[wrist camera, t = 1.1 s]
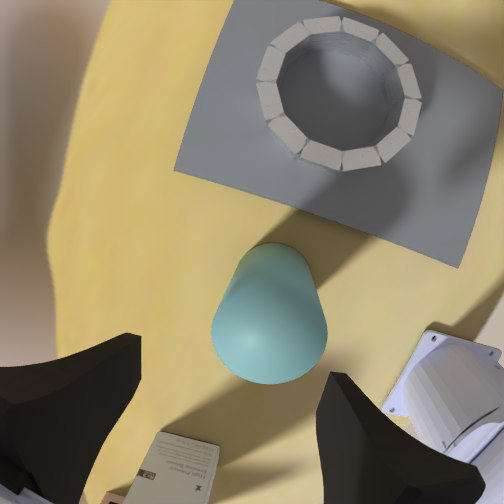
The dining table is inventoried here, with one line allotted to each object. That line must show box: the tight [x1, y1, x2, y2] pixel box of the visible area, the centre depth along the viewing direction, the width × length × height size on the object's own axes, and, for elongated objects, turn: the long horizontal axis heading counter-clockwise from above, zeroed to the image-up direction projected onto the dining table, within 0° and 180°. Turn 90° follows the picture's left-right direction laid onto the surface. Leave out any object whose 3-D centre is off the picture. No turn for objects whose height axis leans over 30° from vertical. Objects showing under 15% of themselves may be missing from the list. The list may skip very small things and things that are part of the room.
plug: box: [211, 243, 328, 384], centre depth 17 cm, size 5×5×8 cm
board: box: [173, 0, 503, 268], centre depth 18 cm, size 20×14×1 cm
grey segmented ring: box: [256, 16, 422, 172], centre depth 16 cm, size 9×9×3 cm
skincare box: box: [122, 432, 220, 504], centre depth 20 cm, size 6×4×12 cm
